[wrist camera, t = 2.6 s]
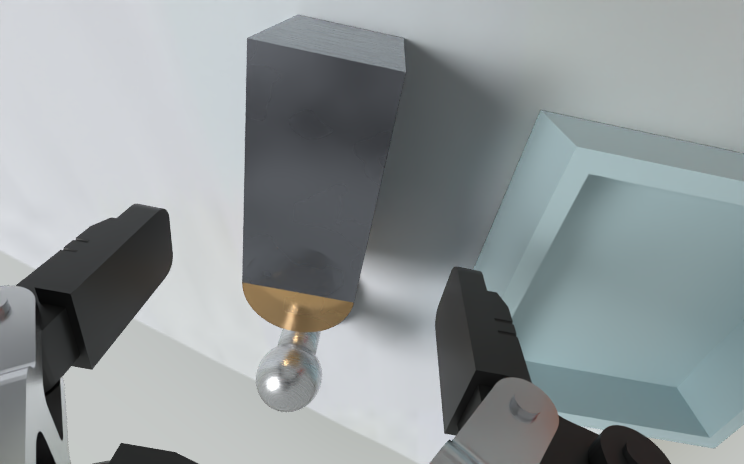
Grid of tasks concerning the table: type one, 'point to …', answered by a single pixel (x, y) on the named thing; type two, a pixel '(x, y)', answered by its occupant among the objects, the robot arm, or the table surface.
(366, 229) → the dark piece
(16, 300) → the robot arm
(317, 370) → the stud post
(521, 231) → the bin
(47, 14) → the table surface
